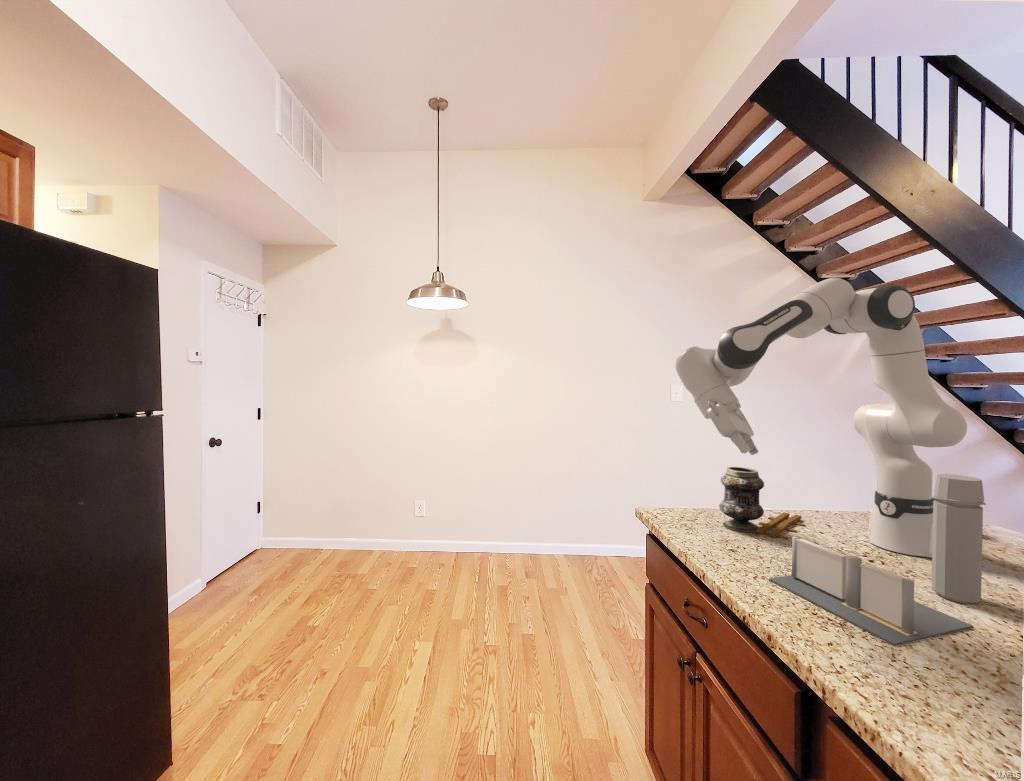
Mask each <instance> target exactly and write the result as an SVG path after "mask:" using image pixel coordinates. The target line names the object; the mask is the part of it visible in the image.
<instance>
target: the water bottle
mask: <svg viewBox="0 0 1024 781" xmlns="http://www.w3.org/2000/svg"><path fill="white" fill-rule="evenodd" d="M983 485H984V484H983V480H982V479H981V478H978V477H974V476H968V475H959V474H953V473H952V474H950V473H949V474H947V473H938V474H936V478H935V484H934V489H933V495H932V496H931V498H935V499H937V500H934V501H933V546H932V558H931V559H932V560H931V589H932V590H933V592H934V593H935V594H936V595H938V596H940V597H941V598H944V599H946V600H950V601H952V602H956V603H961V604H966V605H968V604H969V605H970V604H974V605H975V604H977V603H979V602H980V601H981V600H982V575H983V574H982V572H983V571H982V569H983V568H982V566H983V554H982V553H983V522H984V521H983V520H984V517H983V513H984V509H983V508H984V507H982V505H983V506H987V505H986V504H987V503H985V494H984V487H983Z"/></svg>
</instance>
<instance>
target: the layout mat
mask: <svg viewBox="0 0 1024 781" xmlns="http://www.w3.org/2000/svg"><path fill="white" fill-rule="evenodd" d="M768 581H769V582H770V583H773V584H774V585H777V586H778V587H781V588H783V589H784V588H785V589H784V590H786V589H787V591H788V592H790V593H792V594H794V595H796V596H798V597H800V598H802V599H803V600H806V601H807V602H809V603H811V604H813V605H815V606H817V607H819V608H820V609H823V610H825V611H827V612H829V614H832V615H834V616H836V617H838V618H840V619H842V620H843V621H845V622H847V623H849V624H852V625H853V626H855V627H857V628H858V629H861V630H862V631H865V632H867V633H869V634H870V635H873V636H874V637H876V638H878V639H880V640H882V641H884V642H886V643H888V644H889V645H892V646H893V647H895V646H899V645H905V644H908V643H909V644H910V643H912V642H917V641H921V640H926V639H930V638H934V637H938V636H944V635H948V634H952V633H956V632H961V631H965V630H970V629H973V628H974V625H972V624H970V623H968V622H966V621H964V620H961V619H958V618H956V617H954V616H952V615H948V614H946V613H944V612H941V611H940V610H937V609H934V608H932V607H929V606H927V605H925V604H923V603H920V602H918V601H915V600H914V625H913V634H907V633H904V632H903V631H901V627H899V626H897V625H895V624H893V623H891V622H889V621H886V620H884V619H882V618H880V617H878V616H876V615H874V614H872V613H870V612H868V611H866V610H864V609H861V608H860V609H855V608H851V607H849V606H847V605H846V604H845V603H846V598H845V599H841V598H839V597H836V596H834V595H832V594H830V593H828V592H826V591H824V590H822V589H820V588H818V587H816V586H813V585H811V584H809V583H807V582H805V581H803V580H801V579H799V578H794V577H792V574H790V575H783V576H778V577H770V578H768Z"/></svg>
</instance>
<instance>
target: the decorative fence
mask: <svg viewBox="0 0 1024 781" xmlns="http://www.w3.org/2000/svg"><path fill="white" fill-rule="evenodd" d="M767 520H769V521H768V522H762V521H760V522H759V523H758V526H760V527H759V528H758V529H756V532H755V533H756V534H760V535H765V536H768V537H769V536H770V537H771V538H772V537H773V538H778V539H781V538H783V539H782V540H788V539H789V536H785V535H782V534H781V533H783V532H784V531H785V530H786V532H790V533H798V530H797V529H794V528H790V527H789V526H791V525H794V526H799V527H806V524H805V523H801V522H798V521H801V520H802V515H798V514H795V515H793V516H791V517H790V513H788V512H782V513H781V514H779V515H777V516H776V517H773V516H768V517H767ZM772 528H773V529H772ZM771 529H772V530H771ZM769 530H770V531H769Z"/></svg>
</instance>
